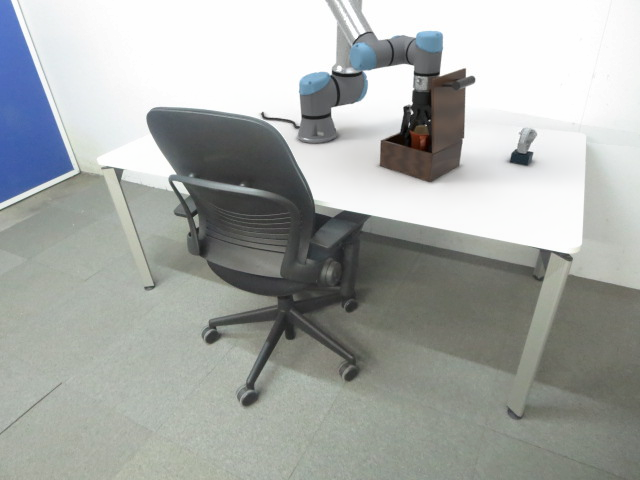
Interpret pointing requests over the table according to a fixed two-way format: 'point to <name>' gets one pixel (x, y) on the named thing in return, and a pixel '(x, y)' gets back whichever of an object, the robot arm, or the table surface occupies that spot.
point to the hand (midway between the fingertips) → (419, 161)
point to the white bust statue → (524, 147)
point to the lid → (448, 108)
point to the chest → (418, 158)
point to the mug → (420, 138)
